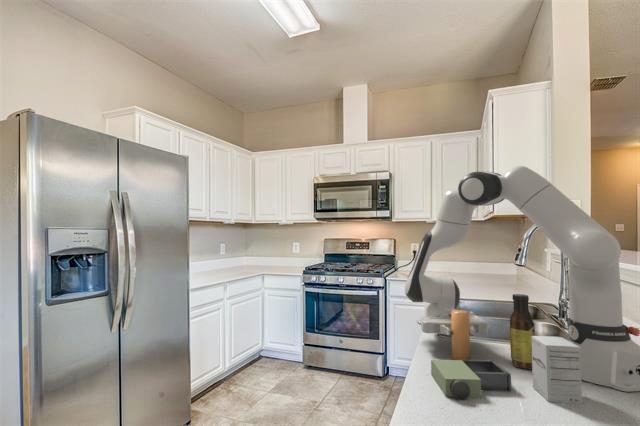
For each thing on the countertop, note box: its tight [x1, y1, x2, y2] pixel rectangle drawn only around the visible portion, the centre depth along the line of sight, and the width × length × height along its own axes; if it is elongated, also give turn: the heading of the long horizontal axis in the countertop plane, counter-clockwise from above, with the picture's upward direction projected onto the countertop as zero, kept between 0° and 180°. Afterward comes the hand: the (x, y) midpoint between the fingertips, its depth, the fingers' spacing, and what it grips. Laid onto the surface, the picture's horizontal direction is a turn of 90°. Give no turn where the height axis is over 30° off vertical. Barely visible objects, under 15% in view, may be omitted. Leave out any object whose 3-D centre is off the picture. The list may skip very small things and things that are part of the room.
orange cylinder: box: [451, 309, 471, 360], centre depth 103 cm, size 5×5×14 cm
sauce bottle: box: [509, 293, 536, 370], centre depth 98 cm, size 6×6×20 cm
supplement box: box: [531, 335, 583, 405], centre depth 80 cm, size 7×7×13 cm
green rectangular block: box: [430, 359, 482, 401], centre depth 84 cm, size 8×14×4 cm, turn 177°
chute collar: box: [462, 359, 512, 392], centre depth 87 cm, size 8×9×4 cm
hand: (461, 332), depth 102 cm, fingers closed on orange cylinder, 5 cm apart
